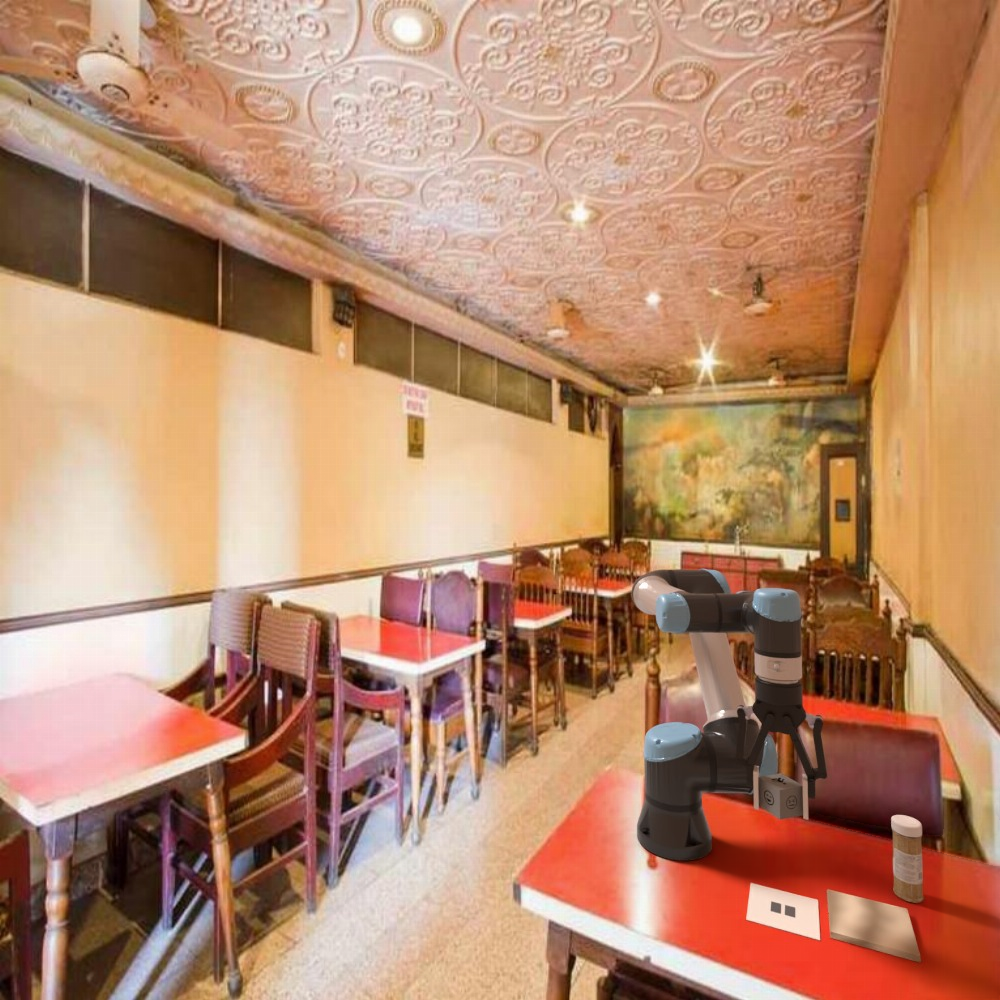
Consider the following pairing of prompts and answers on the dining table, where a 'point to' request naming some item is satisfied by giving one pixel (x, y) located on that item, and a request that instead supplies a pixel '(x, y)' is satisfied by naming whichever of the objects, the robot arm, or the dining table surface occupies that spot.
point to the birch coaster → (872, 925)
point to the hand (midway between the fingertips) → (780, 810)
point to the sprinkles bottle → (907, 858)
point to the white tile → (784, 911)
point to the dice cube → (781, 796)
